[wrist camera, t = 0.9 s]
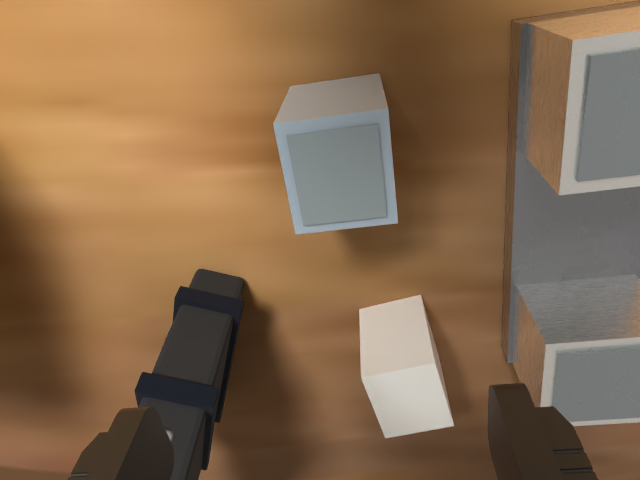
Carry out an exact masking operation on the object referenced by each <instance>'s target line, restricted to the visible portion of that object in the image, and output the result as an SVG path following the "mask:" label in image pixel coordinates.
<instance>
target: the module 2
mask: <svg viewBox="0 0 640 480" xmlns="http://www.w3.org/2000/svg"><path fill="white" fill-rule="evenodd" d="M359 319H360V357H361V379H362V382H363V384H364V387H365V389H366V391H367V394H368V396H369V399H370V401H371V404H372V406H373V409H374V411H375V414H376V416H377V419H378V421H379V424H380V426H381V429H382V431H383V433H384V436H385V438H390V437H396V436H401V435H407V434H412V433H418V432H423V431H429V430H435V429H440V428H446V427H451V426H454V423H453V419H452V414H451V410H450V405H449V400H448V396H447V391H446V387H445V382H444V378H443V373H442V369H441V364H440V360H439V355H438V351H437V348H436V344H435V341H434V338H433V334H432V331H431V327H430V324H429V321H428V317H427V314H426V310H425V307H424V304H423V300H422V297H421V295H417V296H413V297H409V298H405V299H400V300H396V301H392V302H388V303H383V304H379V305H375V306H371V307H366V308H362V309H359Z"/></svg>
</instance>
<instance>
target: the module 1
mask: <svg viewBox="0 0 640 480" xmlns="http://www.w3.org/2000/svg"><path fill="white" fill-rule="evenodd" d="M273 126H274V131H275V136H276V141H277V146H278V151H279V156H280V160H281V165H282V170H283V175H284V180H285V185H286V190H287V195H288V200H289V205H290V210H291V215H292V220H293V225H294V229H295V234H305V233H314V232H323V231H332V230H341V229H351V228H360V227H369V226H378V225H387V224H396V223H398V215H397V204H396V192H395V181H394V169H393V158H392V146H391V135H390V123H389V111H388V105H387V101H386V97H385V93H384V89H383V85H382V81H381V77H380V73H377V74H370V75H363V76H356V77H349V78H342V79H336V80H329V81H322V82H315V83H308V84H302V85H295V86H290V88H289V90H288V92H287V95H286V97H285V99H284V101H283V103H282V106H281V108H280V110H279V112H278V114H277V117H276V119H275V121H274V123H273Z"/></svg>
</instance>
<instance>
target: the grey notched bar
mask: <svg viewBox="0 0 640 480" xmlns="http://www.w3.org/2000/svg"><path fill="white" fill-rule="evenodd" d="M501 348H502V350H503V353H504V356H505V358H506V361H507V363H513V366H514V368H515V371H516V373H517V376H518V378H519V381H520V383H524V384H525V385H526V387H527V388H528V391H529V393H530V396H531V398H532V401H533V403H534V405H535V407H550V406H554V407H555V408H556V409H557V410H558V411H559V412H560V413H561V414H562V415H563V416H564V417H565V418H566V419H567V420H568V421H569V422H570V423H571V424H572V425H573V426H585V425H602V424H619V423H636V422H640V1H633V2H627V3H620V4H614V5H607V6H601V7H594V8H588V9H581V10H575V11H569V12H562V13H556V14H549V15H543V16H536V17H530V18H523V19H517V20H512V24H511V55H510V87H509V119H508V150H507V182H506V213H505V245H504V277H503V308H502V340H501Z"/></svg>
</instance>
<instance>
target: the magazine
mask: <svg viewBox="0 0 640 480" xmlns="http://www.w3.org/2000/svg"><path fill="white" fill-rule="evenodd" d="M243 289H244V281H243V279H242V278H240V277H235V276H231V275H227V274H222V273H218V272H213V271H209V270H205V269H199V270H197V272H196V273H195V275H194V277H193V279H192V282H191V284H190V286H189V288H187V287H183V286H180V288H179V290H178V292H177V294H176V296H175V301H174V314H173V324H172V326H171V328H170V330H169V333H168V335H167V337H166V340H165V342H164V345H163V347H162V350H161V352H160V355H159V357H158V360H157V362H156V365H155V367H154V370H153V372H152V374H150V373H145V372H142V374H141V376H140V379H139V381H138V384H137V386H136V388H135V395H136V399H137V404H138V408H140V407H154V408H155V409H156V410H157V412H158V414H159V417H160V419H161V421H162V423H163V425H164V428H165V430H166V432H167V434H168V436H169V439H170V441H171V443H172V445H173V449H174V467H173V472H172V475H171V478H170V480H198V478H199V474H200V471H201V469H202V470H207V467H208V463H209V457H210V450H211V443H212V436H213V429H214V422H220V419H221V415H222V410H223V405H224V400H225V395H226V390H227V385H228V380H229V375H230V370H231V365H232V360H233V355H234V350H235V345H236V340H237V336H238V331H239V326H240V321H241V316H242V311H243V306H244V300H241V299H242V294H243Z"/></svg>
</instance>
